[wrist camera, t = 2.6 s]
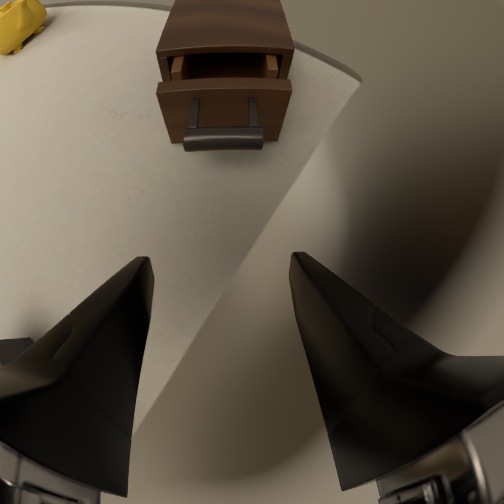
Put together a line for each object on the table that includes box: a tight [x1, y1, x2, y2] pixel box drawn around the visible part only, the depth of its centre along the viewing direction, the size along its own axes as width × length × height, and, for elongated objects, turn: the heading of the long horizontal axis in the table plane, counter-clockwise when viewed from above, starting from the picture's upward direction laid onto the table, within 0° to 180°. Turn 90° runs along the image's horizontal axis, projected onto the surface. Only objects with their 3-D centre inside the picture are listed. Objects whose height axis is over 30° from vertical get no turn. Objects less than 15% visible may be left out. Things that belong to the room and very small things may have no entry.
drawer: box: [156, 53, 292, 152], centre depth 20 cm, size 17×9×7 cm, turn 2°
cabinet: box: [156, 0, 295, 82], centre depth 21 cm, size 14×11×9 cm
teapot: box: [0, 0, 47, 54], centre depth 21 cm, size 14×20×13 cm
